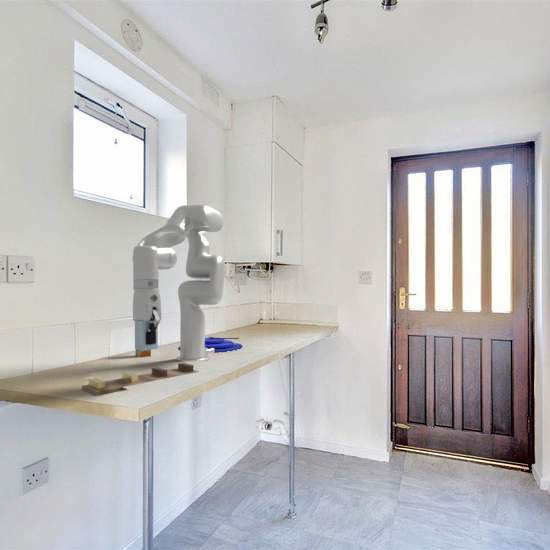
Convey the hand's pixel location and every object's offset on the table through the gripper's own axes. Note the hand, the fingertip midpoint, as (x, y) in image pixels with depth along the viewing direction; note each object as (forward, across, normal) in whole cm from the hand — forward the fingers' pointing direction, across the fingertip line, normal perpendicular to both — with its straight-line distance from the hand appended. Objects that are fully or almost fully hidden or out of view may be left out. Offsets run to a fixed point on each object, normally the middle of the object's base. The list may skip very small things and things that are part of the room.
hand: (146, 342), depth 124 cm
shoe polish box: (+13, +41, -21) cm, 48 cm away
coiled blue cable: (+14, +37, -54) cm, 67 cm away
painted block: (+2, 0, 0) cm, 2 cm away
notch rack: (+12, 0, +1) cm, 12 cm away
